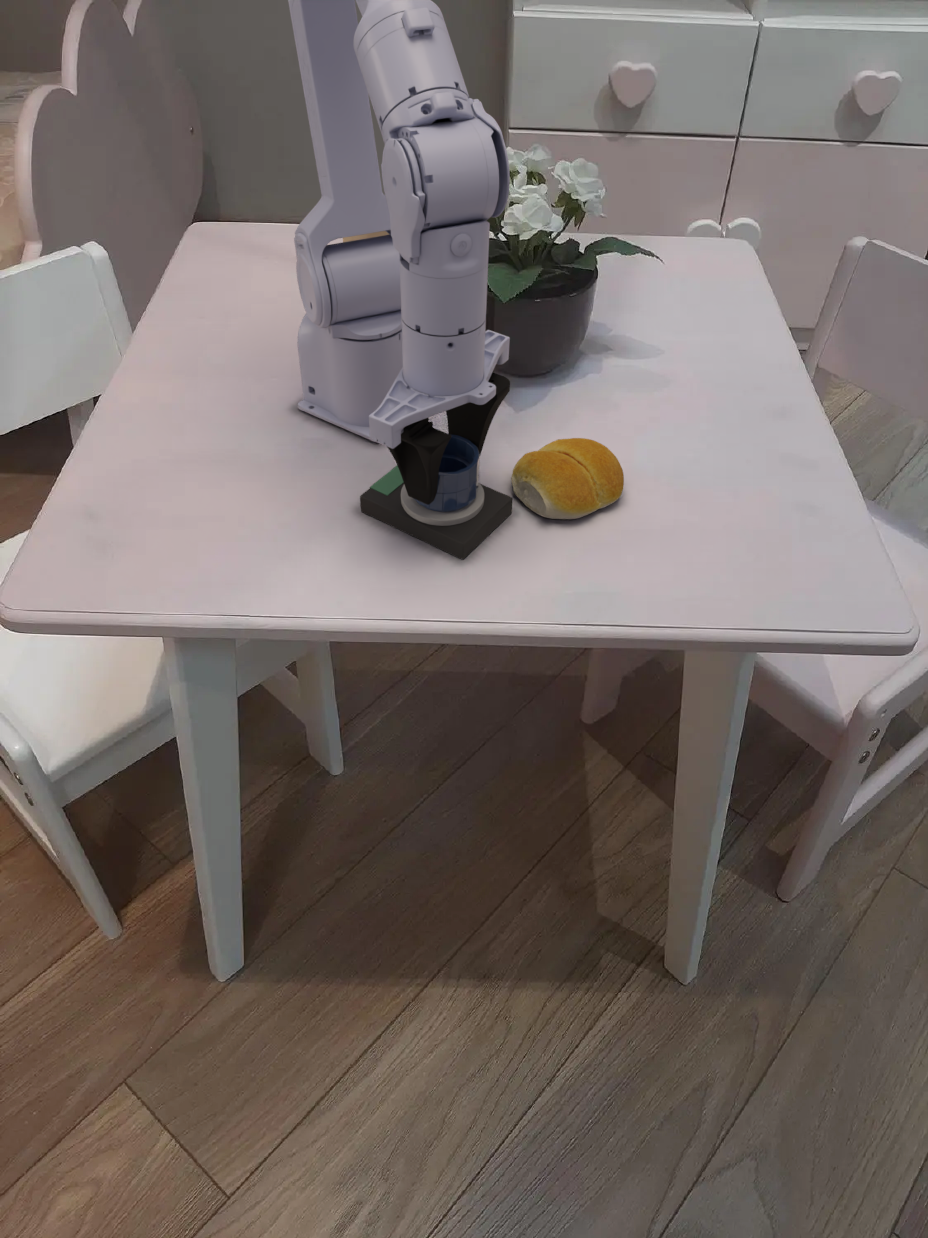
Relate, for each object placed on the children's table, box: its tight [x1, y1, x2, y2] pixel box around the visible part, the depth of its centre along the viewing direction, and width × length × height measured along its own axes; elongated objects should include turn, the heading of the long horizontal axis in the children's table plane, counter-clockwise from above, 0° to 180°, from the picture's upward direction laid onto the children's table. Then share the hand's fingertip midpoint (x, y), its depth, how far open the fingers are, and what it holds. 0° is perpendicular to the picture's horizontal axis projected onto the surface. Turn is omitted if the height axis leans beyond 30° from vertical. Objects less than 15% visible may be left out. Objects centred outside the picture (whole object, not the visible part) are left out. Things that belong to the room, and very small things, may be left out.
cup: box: [413, 434, 481, 512], centre depth 72 cm, size 5×5×4 cm
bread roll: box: [510, 437, 625, 520], centre depth 77 cm, size 8×9×4 cm
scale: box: [359, 465, 514, 560], centre depth 75 cm, size 10×7×2 cm
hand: (442, 479), depth 73 cm, fingers closed on cup, 5 cm apart
